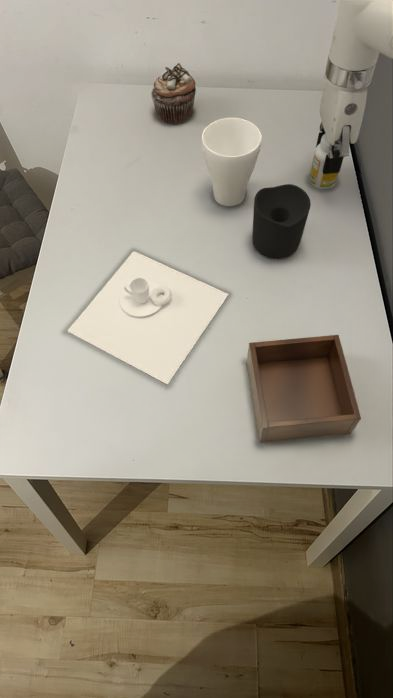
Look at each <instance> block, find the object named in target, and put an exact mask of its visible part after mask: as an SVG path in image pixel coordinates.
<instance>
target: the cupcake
mask: <svg viewBox="0 0 393 698" xmlns="http://www.w3.org/2000/svg"><path fill="white" fill-rule="evenodd" d="M196 93H197V88H196V81H195V79H194V78H193V76H192V75H191V74H190V73H189V71H188V70H187V69H185V68H184V67H183V66H182V65H181V63H180V62H177V63H175V65H174V66H173V68H172V69H171V68H170V67H167V66H165V69H164V71H163V70H162V72H161V73H160V74H159V76H158V77H157V78H156V79H155V80H154V82H153V88H152V89H151V92H150V96H151V100H152V102H153V106H154V109H155V113H156V115H157V119H159V120H160V121H161V122H163V123H165V124H169V125H177V124H182V123H183V122H186V121H187V120H189V119H190V118H191V117H192V115H193V109H194V103H195V98H196Z"/></svg>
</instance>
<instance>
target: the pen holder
mask: <svg viewBox="0 0 393 698" xmlns="http://www.w3.org/2000/svg"><path fill="white" fill-rule="evenodd" d="M310 210H311V198H310V196H309V194H308V193H307V192H306V191H305V189H303V188H301V187H300V186H298V185H295V184H292V183H287V184H285V183H284V184H281V185H276V186H270V187H263V188H261V189H259V190H258V191H257V192H256V193H255V196H254V198H253V214H252V215H253V216H252V237H251V239H252V245H253V248H254V250H255V251H256V252H257V253H258V254H260V255H261V256H263V257H265V258H267V259H270V260H283V259H284V260H285V259H287V258H289V257H292V256H293V255H294V254H295V253H296V252H297V251H298V249H299V247H300V244H301V241H302V238H303V234H304V231H305V227H306V224H307V220H308V217H309V213H310Z"/></svg>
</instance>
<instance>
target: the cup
mask: <svg viewBox="0 0 393 698" xmlns="http://www.w3.org/2000/svg"><path fill="white" fill-rule="evenodd" d="M262 140H263V136H262V132H261V130H260V129H259V128H258V126H257V125H256V124H254V123H253V122H252V121H249V120H246V119H243V118H241V117H224V118H219V119H216V120H215V121H213V122H211V123H209V124H208V125H207V126H206V127H205V128H204V129H203V131H202V134H201V145H202V146H201V147H202V154H203V157H204V162H205V165H206V168H207V171H208V174H209V177H210V181H211V184H212V185H211V186H212V189H213V197H214V200H215V201H216V203H218V204H219V205H222V206H225V207H235V206H237V205H240V204H241V203H242V202H243V201H244V200H245V197H246V191H247V187H248V185H249V181H250V179H251V177H252V175H253V172H254V170H255V167H256V164H257V161H258V158H259V154H260V152H261V151H260V150H261V146H262Z"/></svg>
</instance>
